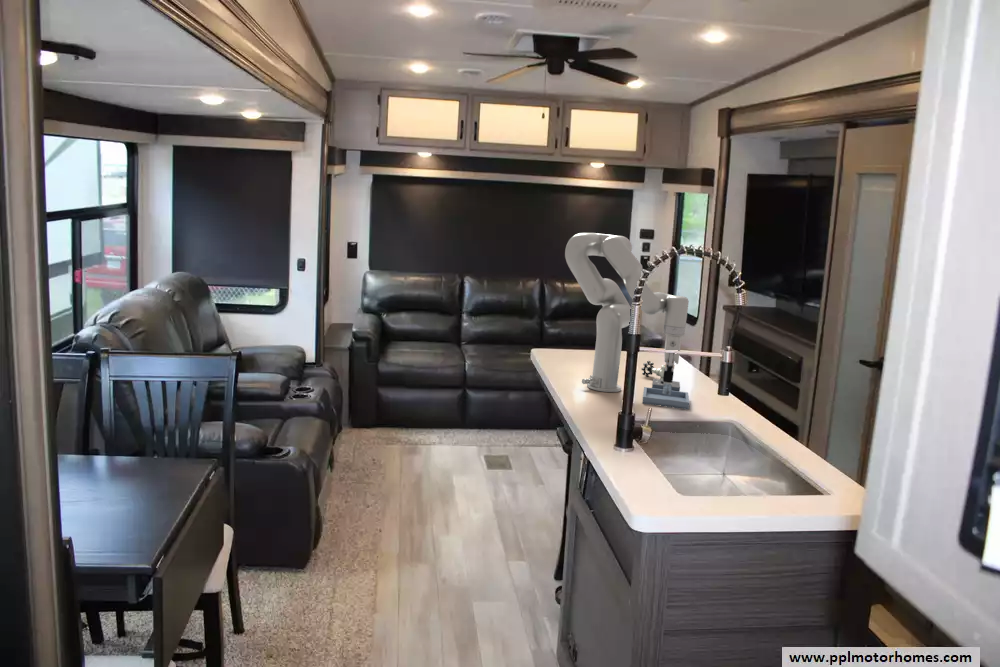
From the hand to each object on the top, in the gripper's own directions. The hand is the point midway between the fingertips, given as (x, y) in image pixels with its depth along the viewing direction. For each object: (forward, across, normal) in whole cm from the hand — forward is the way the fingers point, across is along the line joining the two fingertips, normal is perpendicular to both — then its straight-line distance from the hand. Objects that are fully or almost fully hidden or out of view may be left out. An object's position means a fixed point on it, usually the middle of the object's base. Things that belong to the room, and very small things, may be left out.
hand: (667, 380), depth 300 cm
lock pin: (+5, 0, 0) cm, 5 cm away
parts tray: (+8, 0, 0) cm, 8 cm away
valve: (+8, +36, +3) cm, 37 cm away
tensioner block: (+8, +15, 0) cm, 17 cm away
